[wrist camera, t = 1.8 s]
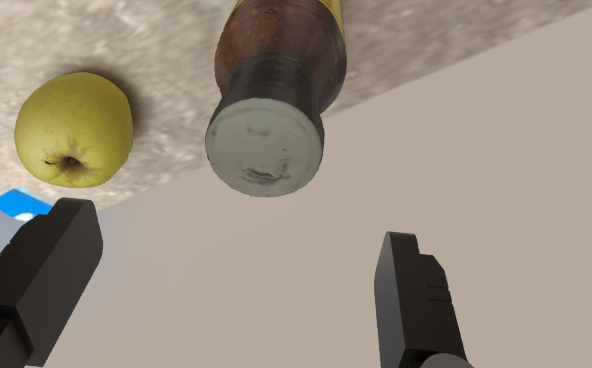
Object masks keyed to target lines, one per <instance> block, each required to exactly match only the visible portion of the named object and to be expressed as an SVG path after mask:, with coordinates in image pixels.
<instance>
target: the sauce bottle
mask: <svg viewBox="0 0 592 368" xmlns="http://www.w3.org/2000/svg"><path fill="white" fill-rule="evenodd" d="M214 61H215V77H216V82H217V85H218V87H219V88H220V92H221V95H222V99H221V101H220V103H219V105H218V107H217V108H216V110H215V111H214V114H213V116H212V118H211V120H210V123H209V126H208V128H207V132H206V136H205V149H206V153H207V157H208V160H209V162H210V164H211V166H212V168H213V170H214V172H215V173H216V174H217V175H218V176H219V178H220V179H221V180H223V181H224V182H225V183H226V184H228V185H229V186H230V187H231V188H233V189H235V190H237V191H239V192H242V193H244V194H248V195H250V196H255V197H275V196H281V195H285V194H289V193H293V192H295V191H296V190H298V189H300V188H302V187H304V186H306V184H307V183H308V182H310V181H311V180H312V178H313V177H314V176H315V174H316V172H317V171H318V168H319V166H320V163H321V160H322V156H323V148H324V128H323V124H322V119H321V117H320V114H321V113H322V112H324V111H325V110H326V109H327V108H328V107H329V106H330V105H331V104H332V103H333V101H334V100H335V99H336V97H337V96H338V94H339V92H340V90H341V88H342V85H343V82H344V79H345V75H346V66H347V55H346V45H345V37H344V29H343V19H342V10H341V1H340V0H238V2H237V4H236V6H235V7H234V9H233V11H232V13H231V15H230V16H229V18H228V20H227V22H226V24H225V27H224V30H223V32H222V34H221V37H220V40H219V42H218V45H217V50H216V54H215V59H214Z"/></svg>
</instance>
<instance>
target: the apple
mask: <svg viewBox="0 0 592 368" xmlns="http://www.w3.org/2000/svg"><path fill="white" fill-rule="evenodd" d="M14 137H15V144H16V149H17V153H18V156H19V158H20V160H21V162H22V164H23V165H24V166H25V168H26V169H27V170H28V171H29V172H30V173H31V174H32V175H33V176H34V177H36V178H37V179H39V180H41V181H44V182H46V183H49V184H52V185H57V186H62V187H69V188H89V187H95V186H99V185H101V184H103V183H105V182H106V181H108V180H109V179H110V178H112V176H113V175H114V174H115V173H116V172H117V171H118V170H119V169H120V168H121V166H122V165H123V164H124V163H125V162H126V160H127V158H128V156H129V153H130V151H131V148H132V143H133V124H132V116H131V111H130V106H129V102H128V100H127V98H126V96H125V95H124V93H123V92H122V91H121V90H120V89H119V88H118V87H117V86H115V85H114V84H113V83H112V82H110V81H108V80H107V79H105V78H104V77H101V76H99V75H96V74H92V73H87V72H80V73H72V74H69V75H65V76H61V77H57V78H55V79H53V80H51V81H49V82H47V83H45V84H44V85H42V86H41V87H40V88H38V89H37V90H36V91H34V92H33V93H32V94H31V96H30V97H29V98H28V99H27V100H26V101H25V103H24V104H23V105H22V108H21V110H20V112H19V115H18V118H17V121H16V126H15V132H14Z"/></svg>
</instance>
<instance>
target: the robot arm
mask: <svg viewBox="0 0 592 368" xmlns="http://www.w3.org/2000/svg"><path fill="white" fill-rule="evenodd" d="M102 251H103V240H102V235H101V231H100V227H99V223H98V218H97V214H96V210H95V206H94V203H93V202H92V201H91V200H85V199H75V198H65V197H62V198H60V199H59V200H58V201H57V202H56V203H55V205H54V206H53V207H52V209H51V210H50V211H49V213H48V214H47V215H43V214H39V215H37V216H36V217H34V218H33V219H31V220H30V221H28V222H27V223H25V224H24V225H23V226H21V228H20V229H19V230H18V231H17V233H16V234H15V235H14V236H13V238H12V239H11V240H10V244H7V246H6V247H5V248H4V249H3V250H2V252H1V253H0V368H24V367H25V365H29V366H38V367H43V366H44V364H45V362H46V360H47V358H48V357H49V355H50V353H51V351H52V349H53V347H54V345H55V344H56V342H57V340H58V338H59V336H60V334H61V332H62V331H63V329H64V327H65V325H66V323H67V321H68V319H69V318H70V316H71V314H72V312H73V310H74V308H75V306H76V305H77V303H78V300H79V299H80V297H81V295H82V293H83V292H84V290H85V288H86V286H87V284H88V282H89V280H90V279H91V277H92V275H93V273H94V271H95V269H96V267H97V266H98V264H99V262H100V259H101V256H102ZM374 294H375V305H376V316H377V327H378V338H379V351H380V362H381V368H474V367H473V366H472V365H471V364H470V363H469V362H468V360H467V358H466V355H465V351H464V347H463V343H462V339H461V335H460V331H459V327H458V323H457V319H456V315H455V311H454V307H453V305H452V299H451V295H450V291H448V283H447V279H446V275H445V271H444V269H443V268H442V267H441V265H440V264H439V263H438V261H437V260H436V259H435V257H434V256H433V255H425V254H420V253H419V248H418V243H417V238H416V236H415V234H409V233H399V232H389V231H388V232H386V234H385V238H384V241H383V245H382V249H381V253H380V256H379V260H378V264H377V268H376V272H375V280H374Z"/></svg>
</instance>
